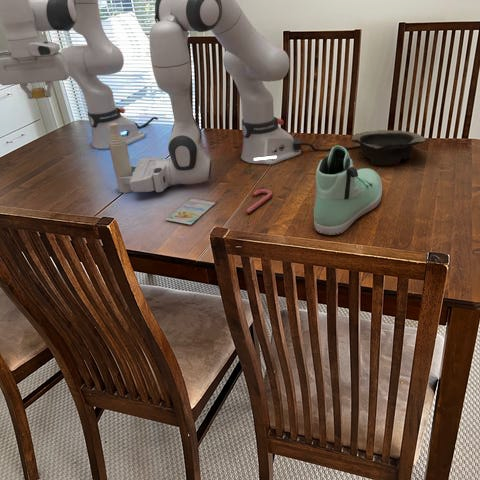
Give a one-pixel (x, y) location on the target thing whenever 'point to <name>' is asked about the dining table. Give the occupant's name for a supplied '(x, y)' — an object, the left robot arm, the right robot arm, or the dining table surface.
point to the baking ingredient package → (190, 211)
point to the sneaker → (343, 192)
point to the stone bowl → (387, 145)
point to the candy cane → (261, 201)
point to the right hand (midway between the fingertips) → (121, 175)
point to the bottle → (120, 157)
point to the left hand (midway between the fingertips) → (40, 97)
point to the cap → (38, 93)
